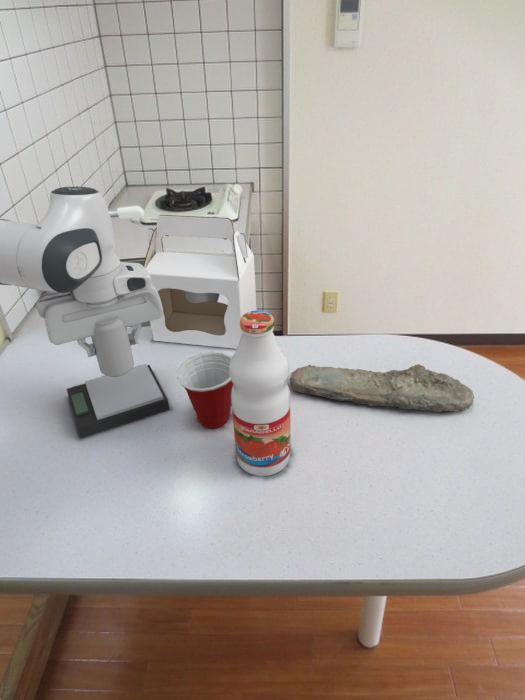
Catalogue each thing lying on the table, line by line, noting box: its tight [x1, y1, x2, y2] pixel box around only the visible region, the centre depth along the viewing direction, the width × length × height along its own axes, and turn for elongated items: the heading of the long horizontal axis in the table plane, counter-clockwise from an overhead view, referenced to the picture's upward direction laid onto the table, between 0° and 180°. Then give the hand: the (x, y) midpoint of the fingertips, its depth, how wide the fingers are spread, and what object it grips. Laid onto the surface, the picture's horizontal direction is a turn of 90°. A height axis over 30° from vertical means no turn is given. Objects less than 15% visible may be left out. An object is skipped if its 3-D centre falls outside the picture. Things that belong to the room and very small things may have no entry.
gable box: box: [142, 214, 258, 350], centre depth 117 cm, size 22×13×28 cm, turn 78°
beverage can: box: [90, 317, 135, 377], centre depth 96 cm, size 6×6×12 cm
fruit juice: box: [229, 309, 292, 477], centre depth 83 cm, size 9×9×28 cm
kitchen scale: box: [66, 363, 170, 439], centre depth 103 cm, size 17×13×3 cm
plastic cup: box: [176, 351, 233, 430], centre depth 96 cm, size 11×11×12 cm
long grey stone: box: [288, 363, 475, 413], centre depth 102 cm, size 35×5×10 cm
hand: (113, 348), depth 97 cm, fingers closed on beverage can, 6 cm apart
